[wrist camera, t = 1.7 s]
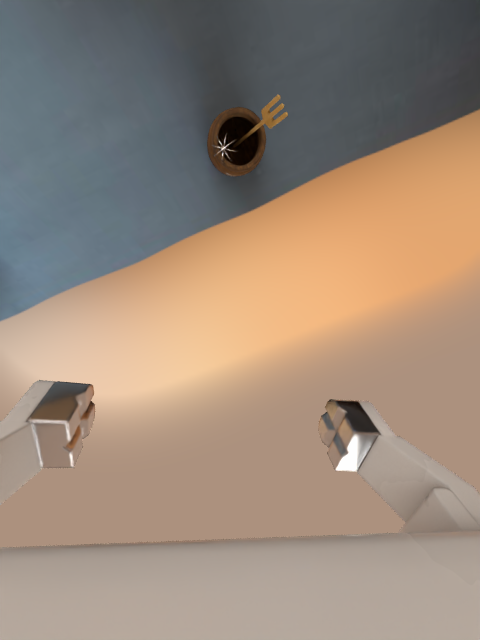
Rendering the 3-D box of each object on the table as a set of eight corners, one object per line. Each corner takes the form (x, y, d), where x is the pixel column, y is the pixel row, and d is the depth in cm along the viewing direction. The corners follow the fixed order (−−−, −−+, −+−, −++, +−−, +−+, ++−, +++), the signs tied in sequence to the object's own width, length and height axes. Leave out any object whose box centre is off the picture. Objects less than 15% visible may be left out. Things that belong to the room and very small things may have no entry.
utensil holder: (196, 138, 31) (192, 118, 21) (242, 101, 30) (264, 60, 20) (225, 186, 34) (236, 191, 23) (269, 154, 33) (301, 143, 22)
